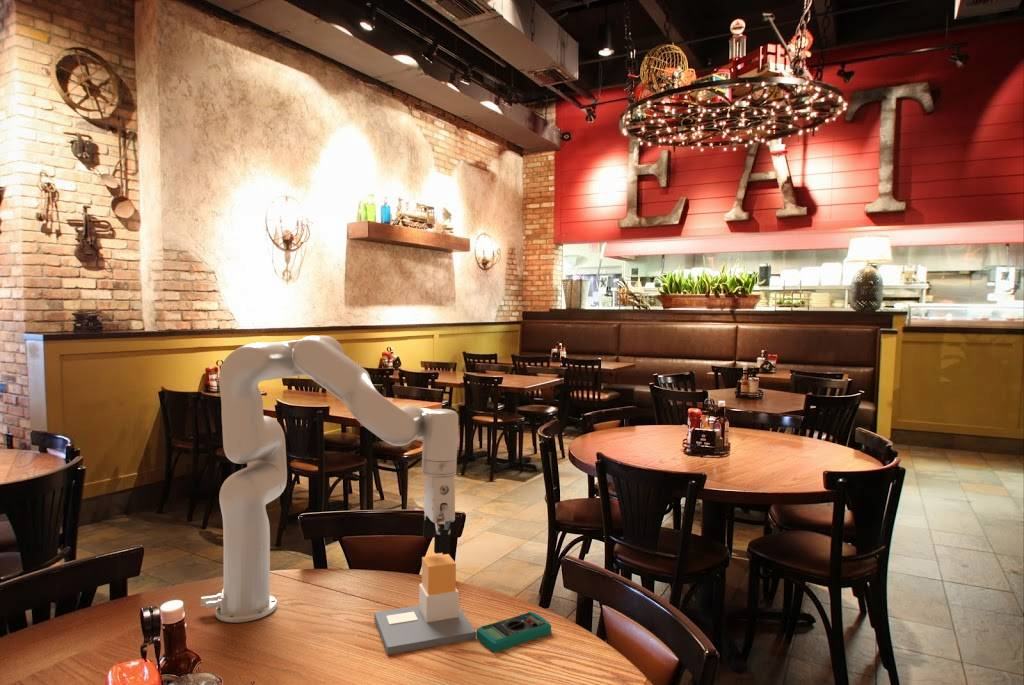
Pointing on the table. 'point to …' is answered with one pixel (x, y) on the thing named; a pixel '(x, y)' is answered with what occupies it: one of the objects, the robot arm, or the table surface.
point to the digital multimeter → (513, 631)
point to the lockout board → (424, 623)
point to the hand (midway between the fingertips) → (435, 544)
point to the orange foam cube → (438, 574)
